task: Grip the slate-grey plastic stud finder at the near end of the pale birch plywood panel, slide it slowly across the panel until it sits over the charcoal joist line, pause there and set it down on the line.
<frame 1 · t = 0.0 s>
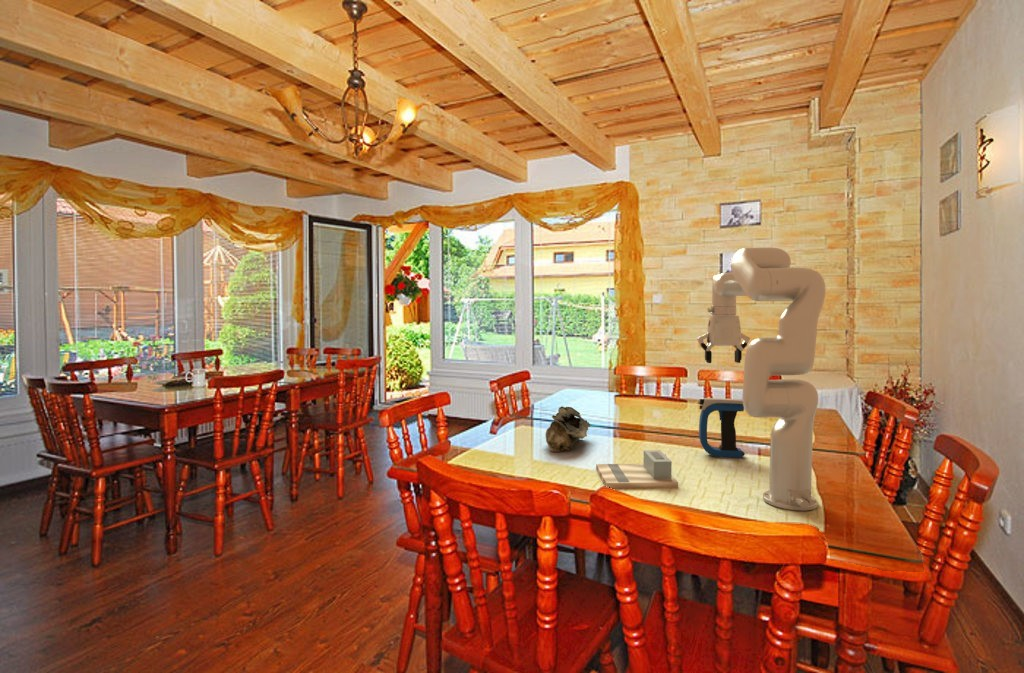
hand: (723, 362, 183), 31 cm above the table, tool pointing down, fingers open, 9 cm apart
subfloor panel: (634, 477, 161), on the table
hollow geode rock: (569, 445, 200), on the table
stud finder: (656, 472, 161), point 1 cm above the table, touching subfloor panel
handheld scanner: (724, 456, 183), on the table
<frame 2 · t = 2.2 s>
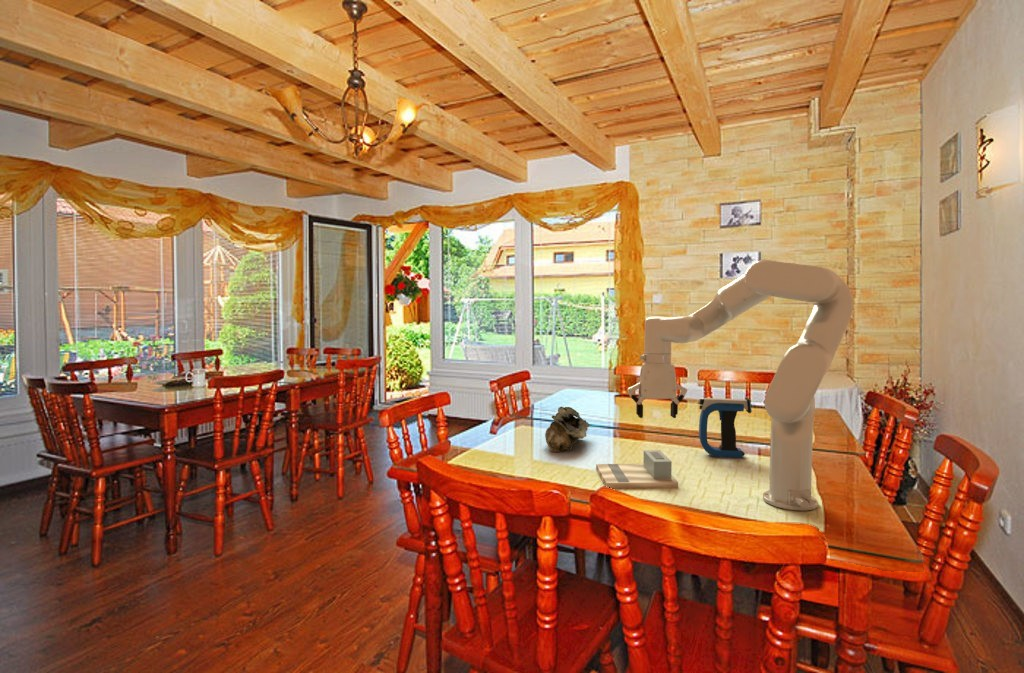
hand: (656, 417, 160), 18 cm above the table, tool pointing down, fingers open, 9 cm apart
nothing on the table moved.
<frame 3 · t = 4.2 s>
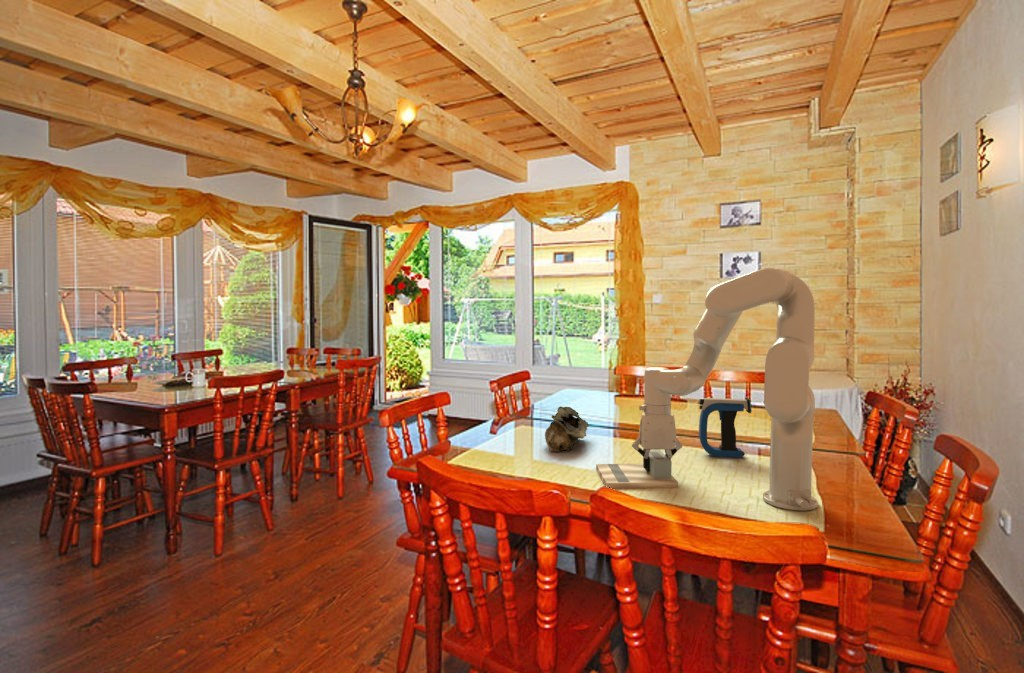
hand: (656, 469, 161), 2 cm above the table, tool pointing down, fingers closed on stud finder, 5 cm apart
stud finder: (656, 472, 161), point 1 cm above the table, touching gripper, subfloor panel
everything else where it was.
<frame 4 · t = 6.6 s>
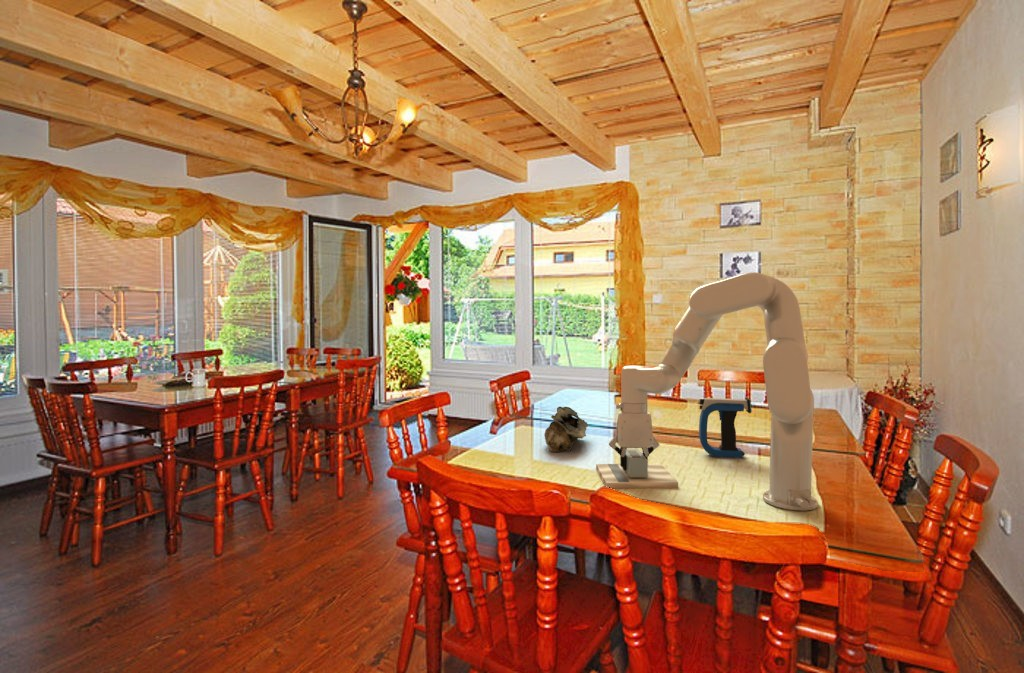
hand: (633, 468, 161), 3 cm above the table, tool pointing down, fingers closed on stud finder, 5 cm apart
stud finder: (634, 470, 161), point 2 cm above the table, touching gripper
everything else where it was.
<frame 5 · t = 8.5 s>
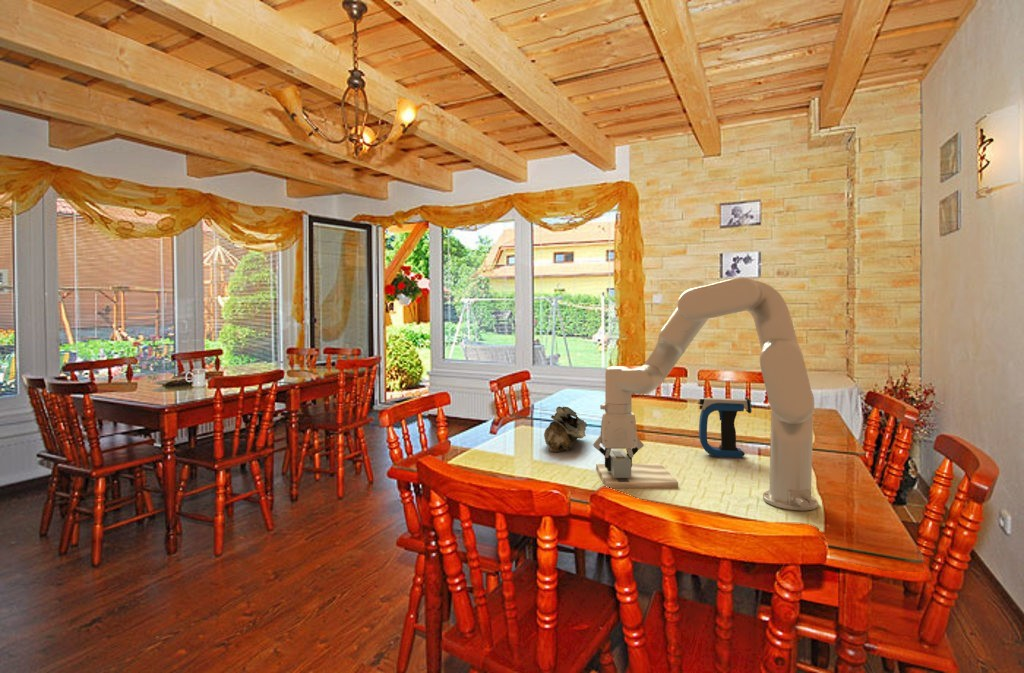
hand: (618, 469, 161), 3 cm above the table, tool pointing down, fingers closed on stud finder, 5 cm apart
stud finder: (618, 471, 161), point 2 cm above the table, touching gripper
everything else where it was.
when the fingers open (2 cm above the table, at t = 9.3 s): stud finder stays where it is, resting on subfloor panel.
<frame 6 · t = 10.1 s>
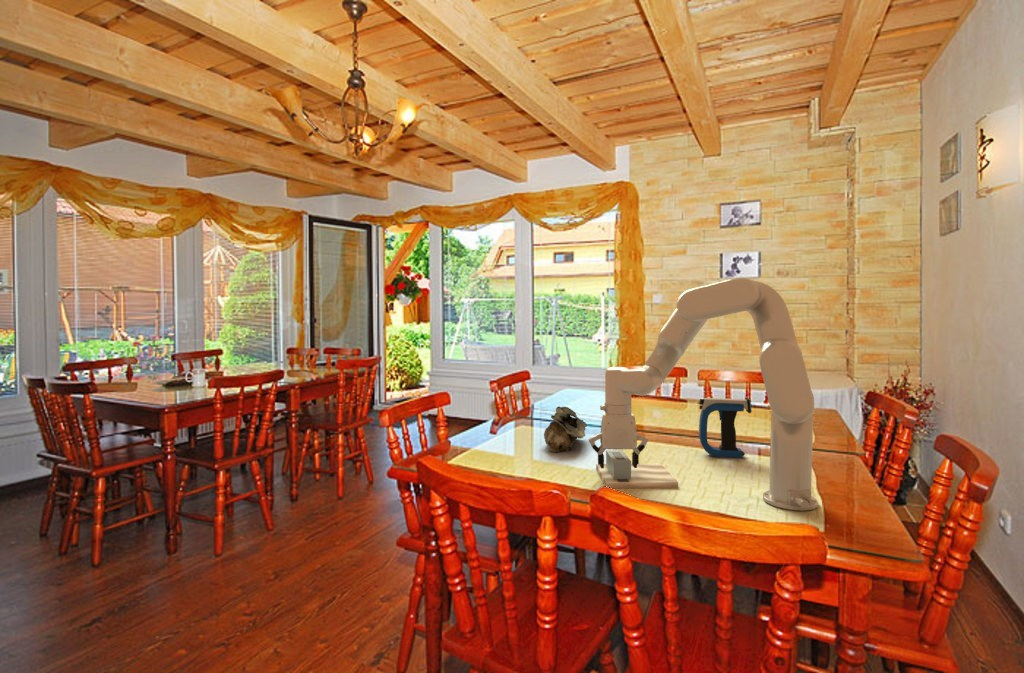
hand: (618, 466, 161), 3 cm above the table, tool pointing down, fingers open, 9 cm apart
stud finder: (618, 472, 161), point 2 cm above the table, touching subfloor panel
everything else where it was.
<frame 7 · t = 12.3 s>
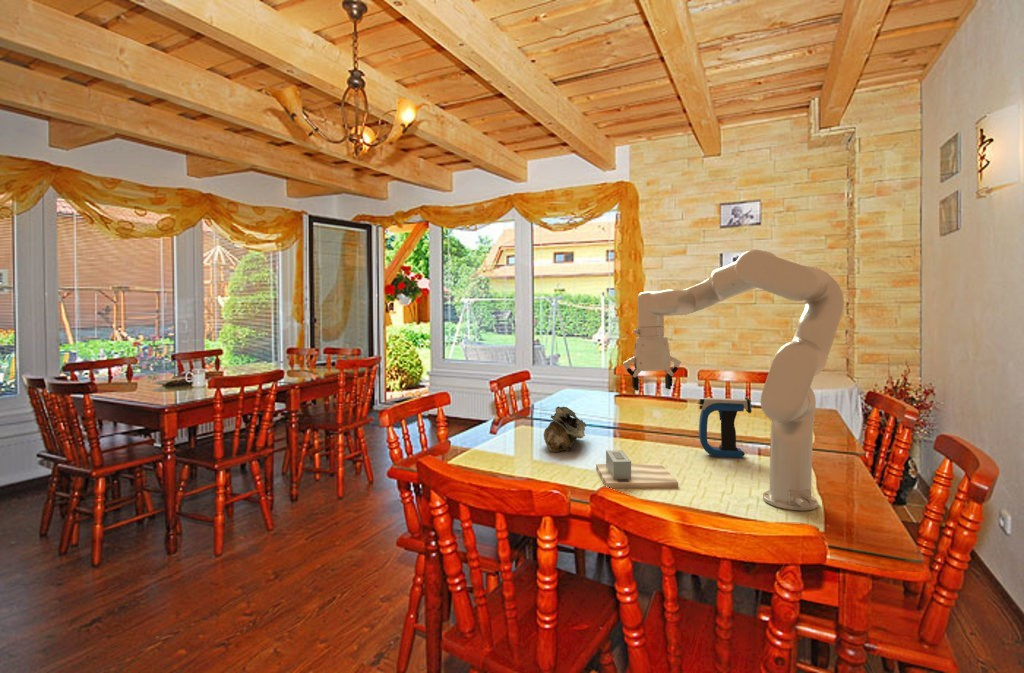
hand: (652, 389, 164), 25 cm above the table, tool pointing down, fingers open, 9 cm apart
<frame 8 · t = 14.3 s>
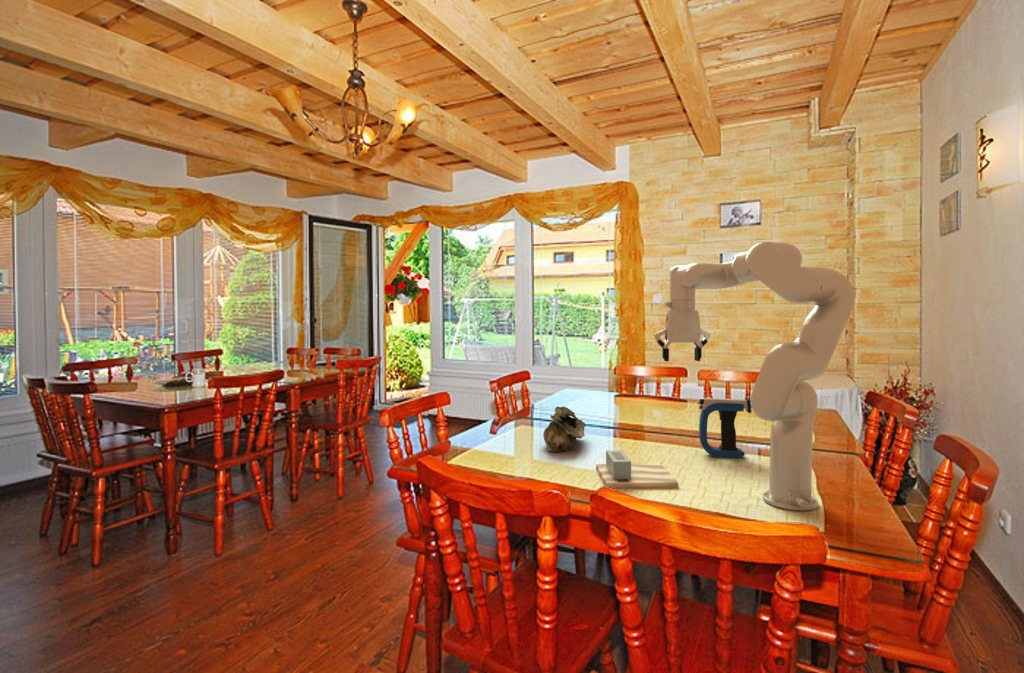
hand: (681, 360, 170), 33 cm above the table, tool pointing down, fingers open, 9 cm apart
at the end: stud finder 0.1 cm from the target spot, point 1.6 cm above the table; stud finder tilted 0°; the gripper is holding nothing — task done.
